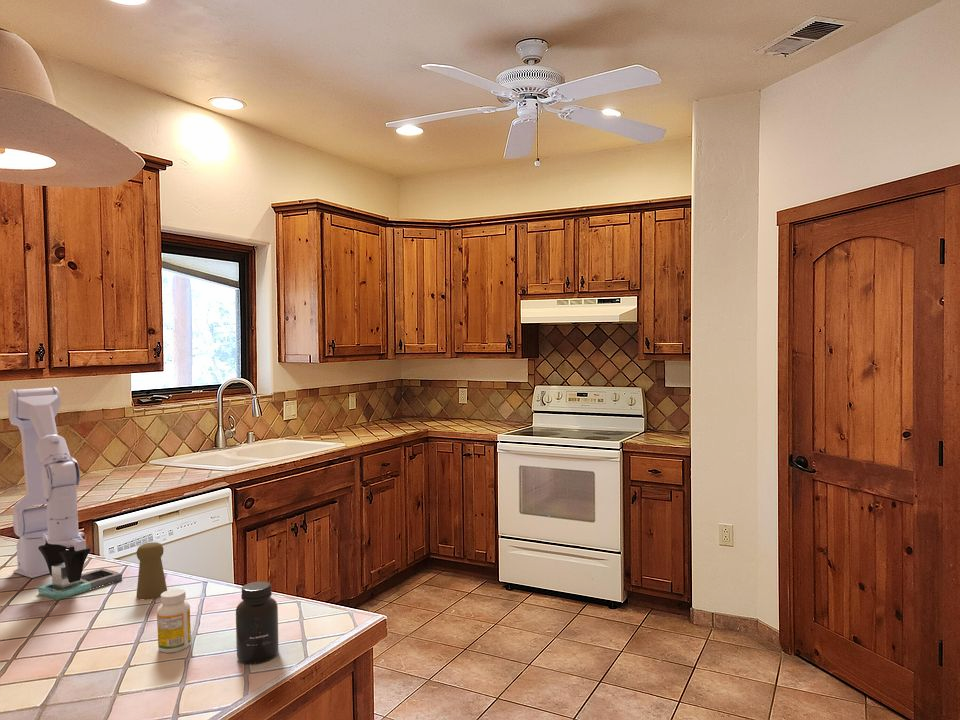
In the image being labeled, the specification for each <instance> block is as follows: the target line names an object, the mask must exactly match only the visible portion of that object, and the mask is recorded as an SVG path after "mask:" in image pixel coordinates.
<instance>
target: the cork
mask: <svg viewBox="0 0 960 720" xmlns="http://www.w3.org/2000/svg"><path fill="white" fill-rule="evenodd" d="M164 550H165V549H164V546H163V544H162V543H160V542H157V541H154V542H146V543H143V544H141V545H139V546H138V548H137V549H136V557H137V559H138V561H139V564H138V565H139V566H138V576H137V577H138V578H137V586H136V587H137V588H136V599H137V598H138V599H137V600H140V599H144V600H143V601H147V600H148V599H149V600H155V599H159V598H161V594H162V593H163V592H165V591H168V587H167V582H166V577H165V571H164V567H163V561H162V557H163V555H164Z"/></svg>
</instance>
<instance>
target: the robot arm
mask: <svg viewBox="0 0 960 720" xmlns="http://www.w3.org/2000/svg"><path fill="white" fill-rule="evenodd" d="M60 393H61V392H60V391H59V389H58V388H57V387H56V386H51V387H40V388H39V387H38V388H23V389H14V388H12V389H10V391H9V392H8V393H7V409H8V412H7V413H8V420H9V422H10V424H11V425H13V426H16V427H18V429H19V433H20V438H21V450H22V461H23V470H24V471H23V472H24V473H23V474H24V482H25V492H26V493H25V495H24V496H23V497H22V498H20V499H19V500H18V501H17V502H16V503H14V506H13V514H12V515H13V516H12V525H13V531H14V534H15V535H16V536H18V537H19V538H18V541H17V542H16V561H17V562H16V564H17V565H16V566H17V568H15V569H13V571H12V572H14V573H16V574H19V575H22V576H25V577H27V578H31V579H34V578H37V577H41V576H44V575H50V577H51V578H52V565H56V564H59V563H63V562H64V564H65V567H66V572H67V578H68V581H69V582H70V583H72V582H75V581H79V580H80V579H81V575H82V574H83V571H84V565H85V562H86V560H87V557H88V556H89V554H90V552H91V547H90V546H87V540H86V539H84V538H83V537H84V536H85V532H83V531H79V515H78V514H79V511H78V509H79V508H78V491H77V486H79V485H80V482H81V469H80V465H79V463H78V461H77V460H76V459H75V457H74V456H71V453H70V450H69V448H68V444H67V441H66V439H65V437H63V436H61V435H59V434H58V428H57V424H56V416H57V415H58V412H59V410H60V408H61V401H62V400H61V394H60ZM45 504H46V505H45ZM40 505H42V506H40ZM33 506H37V507H33ZM29 507H31V508H29ZM67 548H68V549H67Z"/></svg>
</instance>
